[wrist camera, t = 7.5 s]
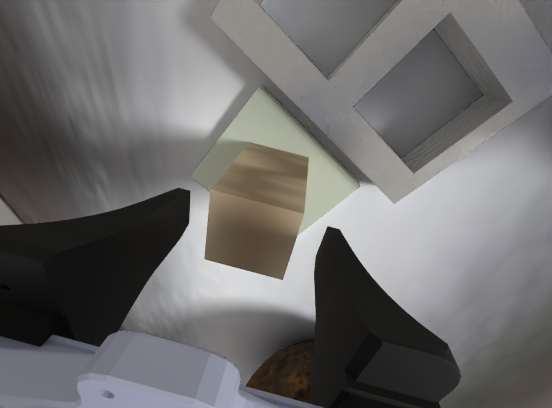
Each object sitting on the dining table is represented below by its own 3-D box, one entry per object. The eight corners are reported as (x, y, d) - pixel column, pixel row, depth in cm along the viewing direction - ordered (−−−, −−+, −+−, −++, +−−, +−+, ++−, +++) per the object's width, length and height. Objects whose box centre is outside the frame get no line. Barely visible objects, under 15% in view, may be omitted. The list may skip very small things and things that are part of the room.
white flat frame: (529, 79, 13) (569, 82, 11) (384, 186, 17) (394, 204, 15) (354, -184, 10) (364, -251, 8) (225, 24, 14) (209, 18, 12)
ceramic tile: (358, 181, 18) (360, 186, 17) (282, 242, 21) (280, 248, 20) (261, 85, 15) (259, 86, 15) (194, 171, 19) (189, 175, 18)
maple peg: (309, 157, 16) (304, 213, 10) (293, 207, 18) (282, 279, 12) (249, 142, 16) (210, 189, 10) (241, 194, 18) (204, 259, 12)
